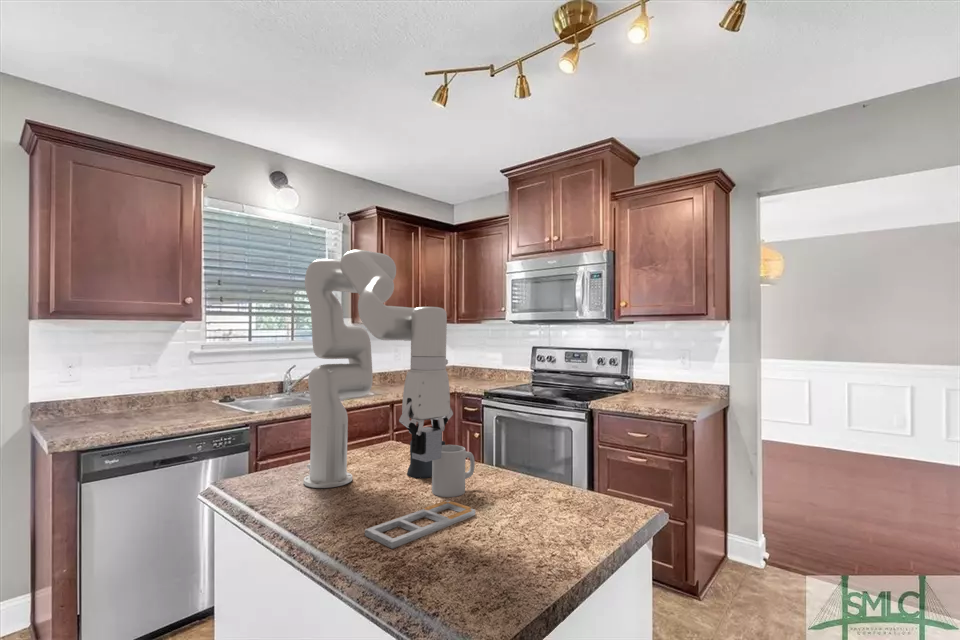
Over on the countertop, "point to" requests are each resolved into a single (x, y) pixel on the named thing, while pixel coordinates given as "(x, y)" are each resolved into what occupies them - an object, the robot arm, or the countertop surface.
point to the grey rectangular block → (430, 445)
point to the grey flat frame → (414, 529)
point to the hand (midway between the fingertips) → (426, 450)
